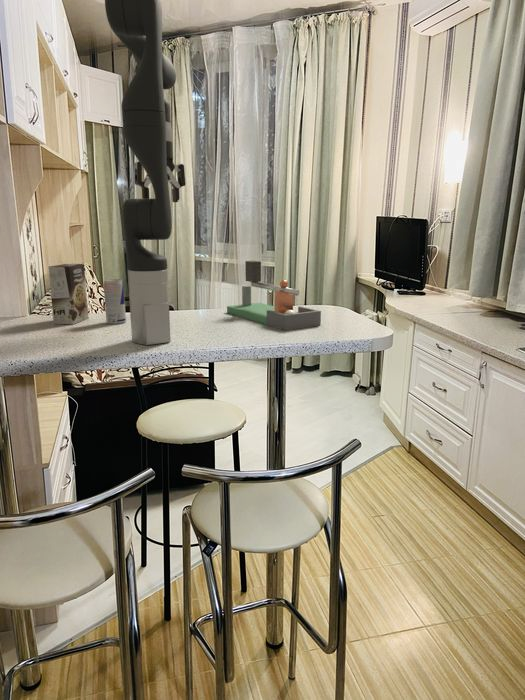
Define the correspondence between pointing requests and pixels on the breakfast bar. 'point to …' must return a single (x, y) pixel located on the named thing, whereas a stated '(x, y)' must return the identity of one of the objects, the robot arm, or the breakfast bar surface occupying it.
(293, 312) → the ball
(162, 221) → the robot arm
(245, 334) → the breakfast bar surface
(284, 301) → the kicker rod
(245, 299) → the pitch
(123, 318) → the energy drink
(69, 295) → the coffee box
